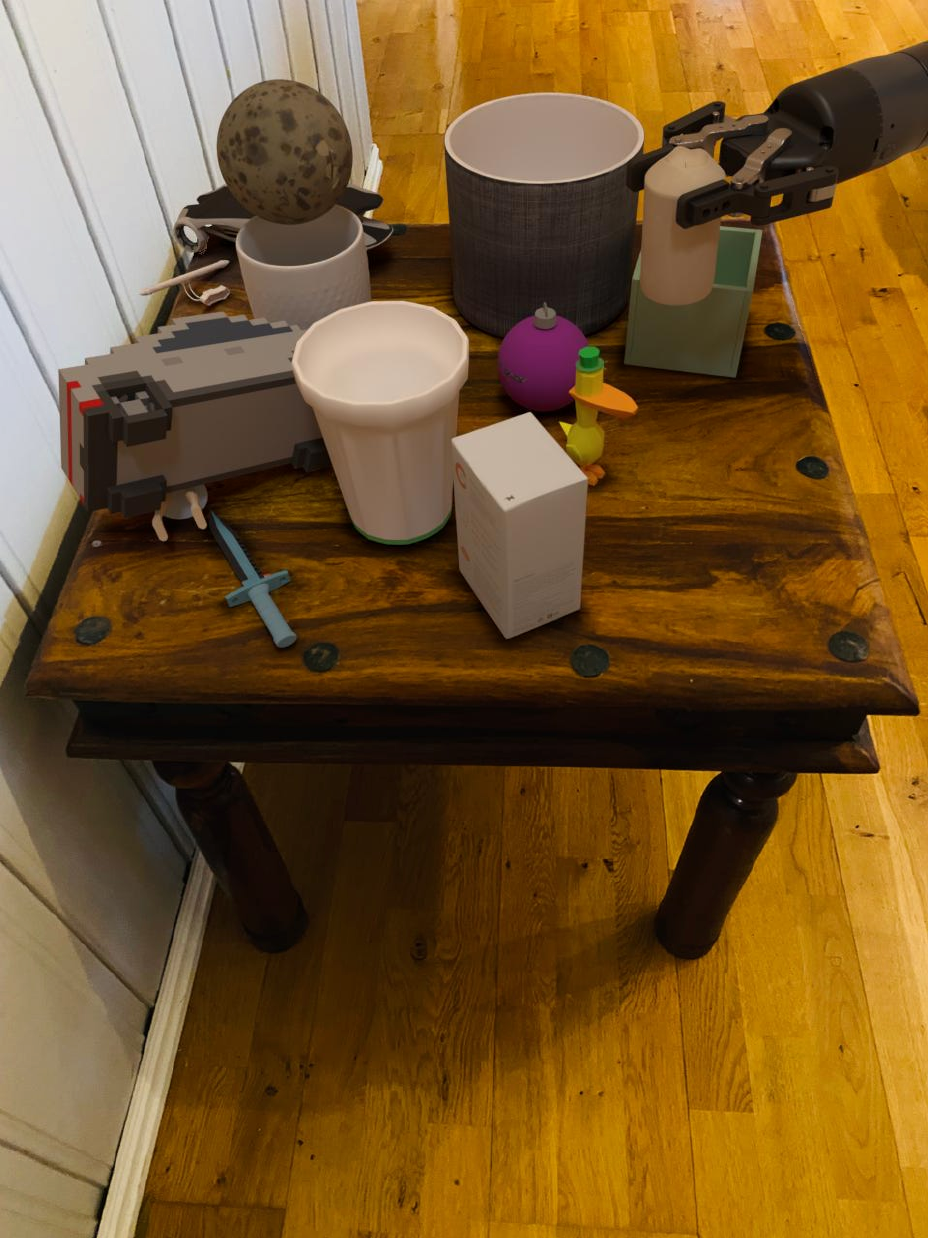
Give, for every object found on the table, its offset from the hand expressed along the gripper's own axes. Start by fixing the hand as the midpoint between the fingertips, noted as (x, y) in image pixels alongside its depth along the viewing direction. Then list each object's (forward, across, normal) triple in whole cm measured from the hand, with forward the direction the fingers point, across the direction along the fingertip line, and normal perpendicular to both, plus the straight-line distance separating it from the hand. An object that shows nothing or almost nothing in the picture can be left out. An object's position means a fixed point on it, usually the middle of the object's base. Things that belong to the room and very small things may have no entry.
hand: (654, 194), depth 68 cm
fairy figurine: (+38, -5, +16) cm, 42 cm away
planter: (-4, -24, +22) cm, 32 cm away
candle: (-3, 0, +8) cm, 9 cm away
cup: (+22, -2, +21) cm, 30 cm away
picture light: (+26, -41, +18) cm, 51 cm away
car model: (+15, -45, +15) cm, 50 cm away
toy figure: (+6, +2, +22) cm, 23 cm away
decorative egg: (+18, -20, 0) cm, 27 cm away
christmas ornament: (+5, -8, +22) cm, 24 cm away
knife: (+38, -1, +19) cm, 43 cm away
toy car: (+31, -7, +13) cm, 35 cm away
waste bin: (-12, -10, +22) cm, 27 cm away
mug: (+19, -25, +20) cm, 37 cm away
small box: (+18, +10, +21) cm, 29 cm away
